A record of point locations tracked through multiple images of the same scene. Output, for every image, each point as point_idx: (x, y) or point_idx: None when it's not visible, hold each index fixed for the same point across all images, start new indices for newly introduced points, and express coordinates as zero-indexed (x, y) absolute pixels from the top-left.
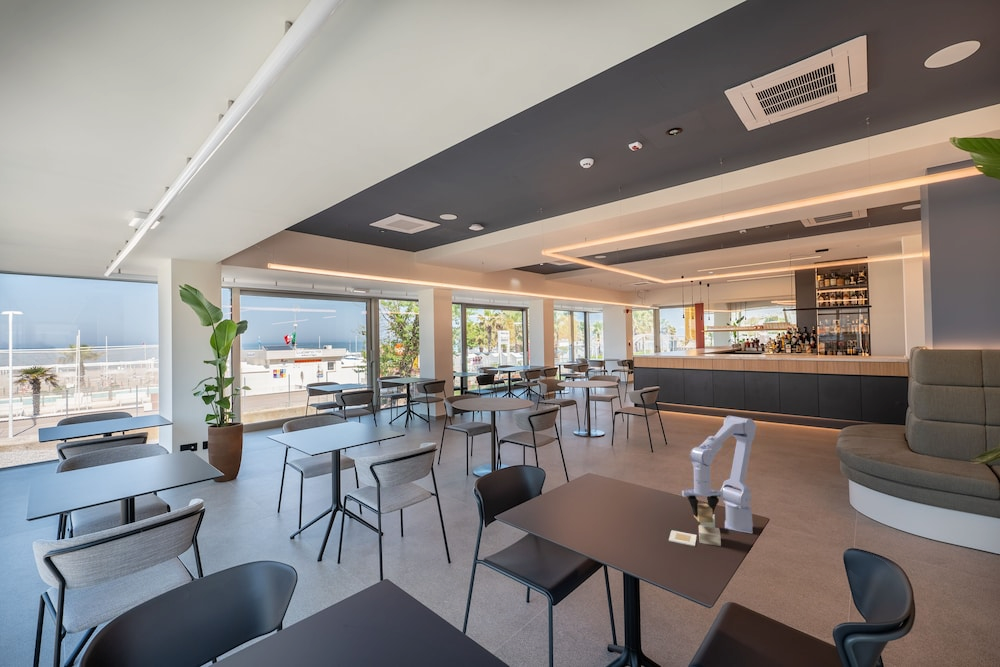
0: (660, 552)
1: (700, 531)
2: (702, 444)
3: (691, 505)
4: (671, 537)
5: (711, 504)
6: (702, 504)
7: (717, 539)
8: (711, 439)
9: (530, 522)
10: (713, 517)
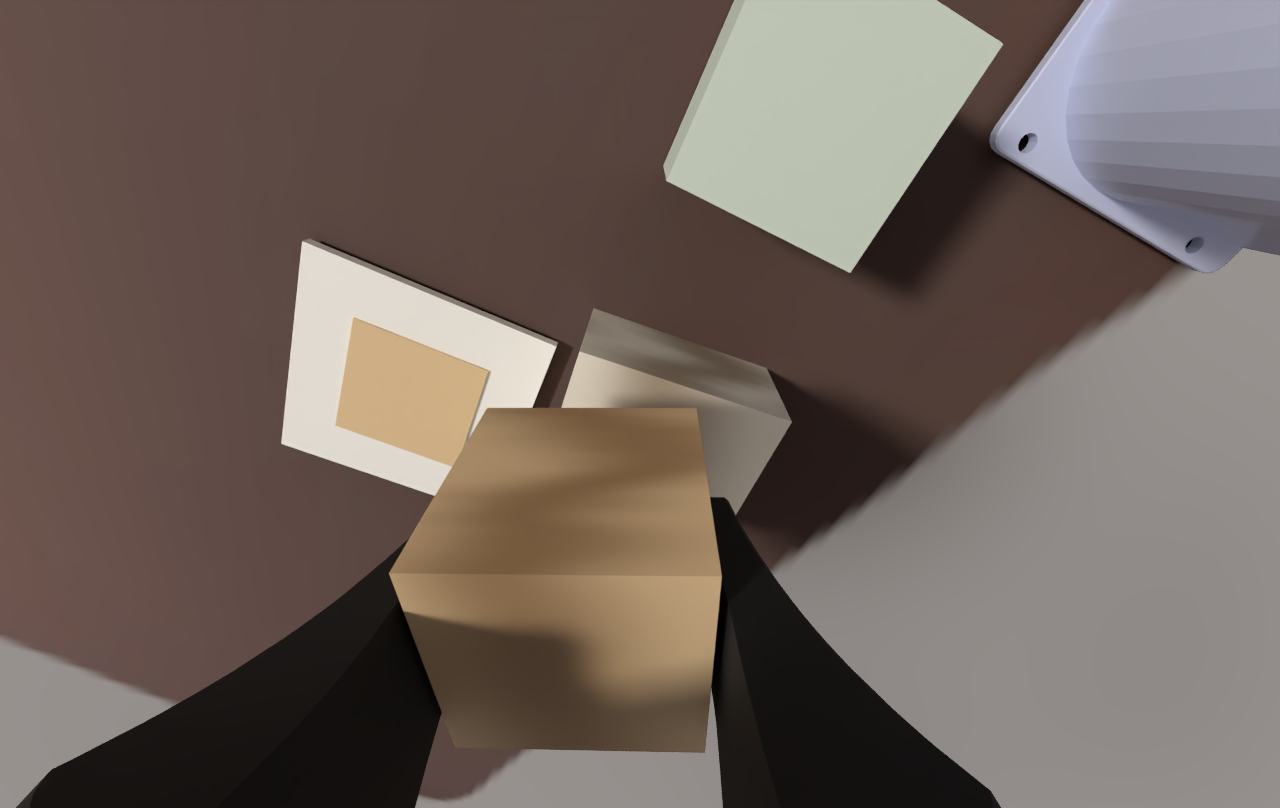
0: (242, 567)
1: None
2: None
3: (345, 610)
4: (305, 400)
5: (727, 795)
6: (596, 611)
7: None
8: None
9: None
10: (882, 202)
